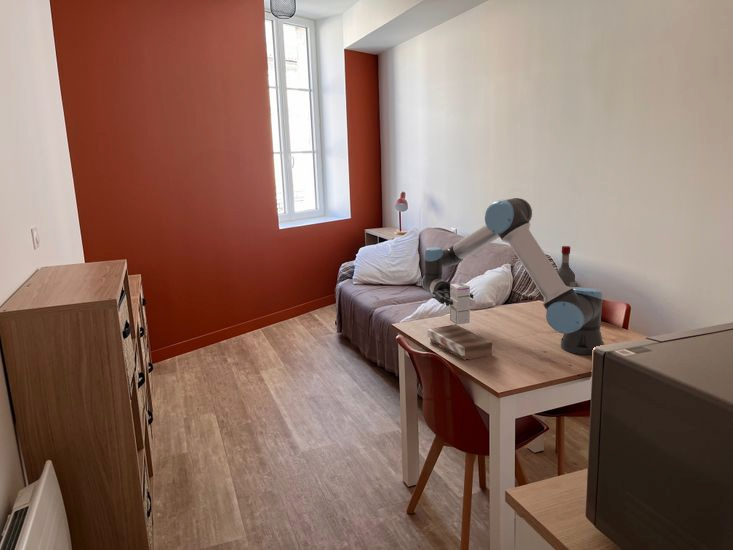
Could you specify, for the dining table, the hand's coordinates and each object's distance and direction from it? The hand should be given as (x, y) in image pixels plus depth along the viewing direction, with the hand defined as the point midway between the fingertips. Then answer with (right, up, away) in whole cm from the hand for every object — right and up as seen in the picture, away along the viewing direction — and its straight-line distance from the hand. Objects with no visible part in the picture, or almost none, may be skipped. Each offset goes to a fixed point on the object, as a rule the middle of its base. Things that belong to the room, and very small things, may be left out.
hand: (465, 304), depth 196 cm
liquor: (+56, -6, +55) cm, 78 cm away
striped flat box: (-1, -17, +9) cm, 19 cm away
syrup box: (-1, -7, +7) cm, 10 cm away
